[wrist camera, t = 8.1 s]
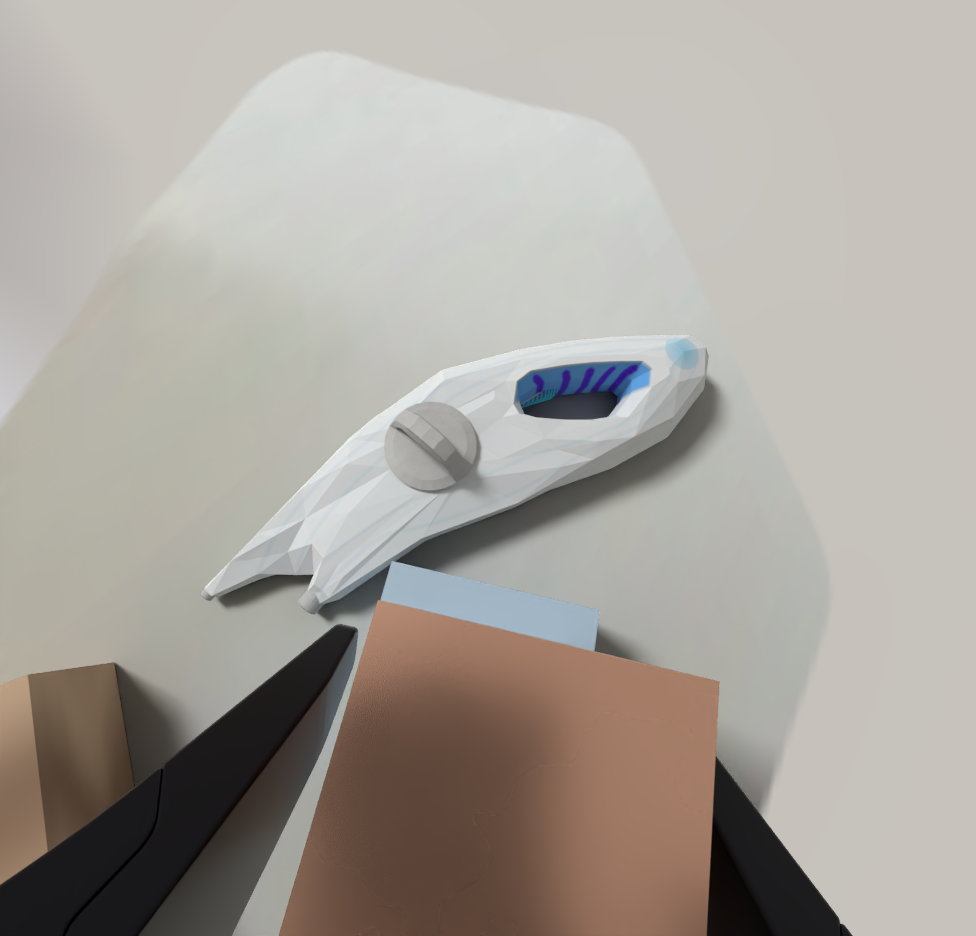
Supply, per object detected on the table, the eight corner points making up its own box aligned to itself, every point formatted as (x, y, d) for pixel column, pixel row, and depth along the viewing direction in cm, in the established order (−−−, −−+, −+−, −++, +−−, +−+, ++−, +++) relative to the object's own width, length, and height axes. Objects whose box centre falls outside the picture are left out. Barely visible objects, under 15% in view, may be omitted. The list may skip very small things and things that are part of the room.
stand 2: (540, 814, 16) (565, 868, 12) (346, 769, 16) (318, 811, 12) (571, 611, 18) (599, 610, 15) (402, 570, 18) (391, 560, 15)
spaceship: (643, 311, 23) (688, 246, 19) (715, 417, 22) (781, 372, 18) (182, 502, 18) (103, 471, 14) (235, 656, 17) (164, 673, 13)
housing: (529, 806, 13) (694, 1187, 4) (376, 770, 13) (236, 1081, 4) (557, 642, 14) (720, 681, 6) (419, 609, 14) (378, 599, 6)
